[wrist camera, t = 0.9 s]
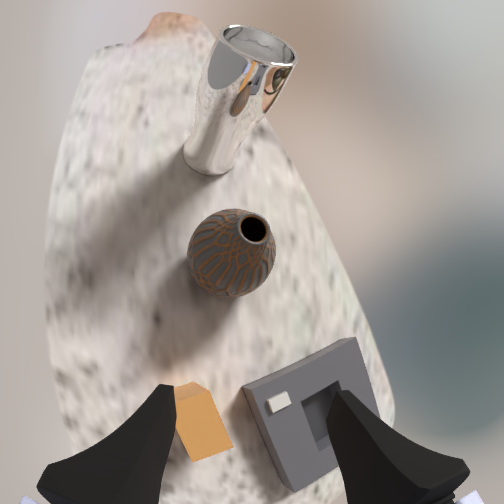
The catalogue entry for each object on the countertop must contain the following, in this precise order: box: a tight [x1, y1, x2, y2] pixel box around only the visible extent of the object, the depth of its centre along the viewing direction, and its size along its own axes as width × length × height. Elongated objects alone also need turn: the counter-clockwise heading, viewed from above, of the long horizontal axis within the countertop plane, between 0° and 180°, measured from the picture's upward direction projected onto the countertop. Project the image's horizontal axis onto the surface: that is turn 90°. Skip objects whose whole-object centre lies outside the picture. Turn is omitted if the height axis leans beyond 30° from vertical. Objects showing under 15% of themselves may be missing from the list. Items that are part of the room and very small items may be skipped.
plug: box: [174, 382, 233, 462], centre depth 18 cm, size 4×3×6 cm, turn 23°
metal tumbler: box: [183, 25, 298, 175], centre depth 23 cm, size 7×7×15 cm
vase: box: [187, 209, 276, 298], centre depth 22 cm, size 7×7×9 cm
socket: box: [242, 337, 380, 492], centre depth 23 cm, size 12×12×3 cm
